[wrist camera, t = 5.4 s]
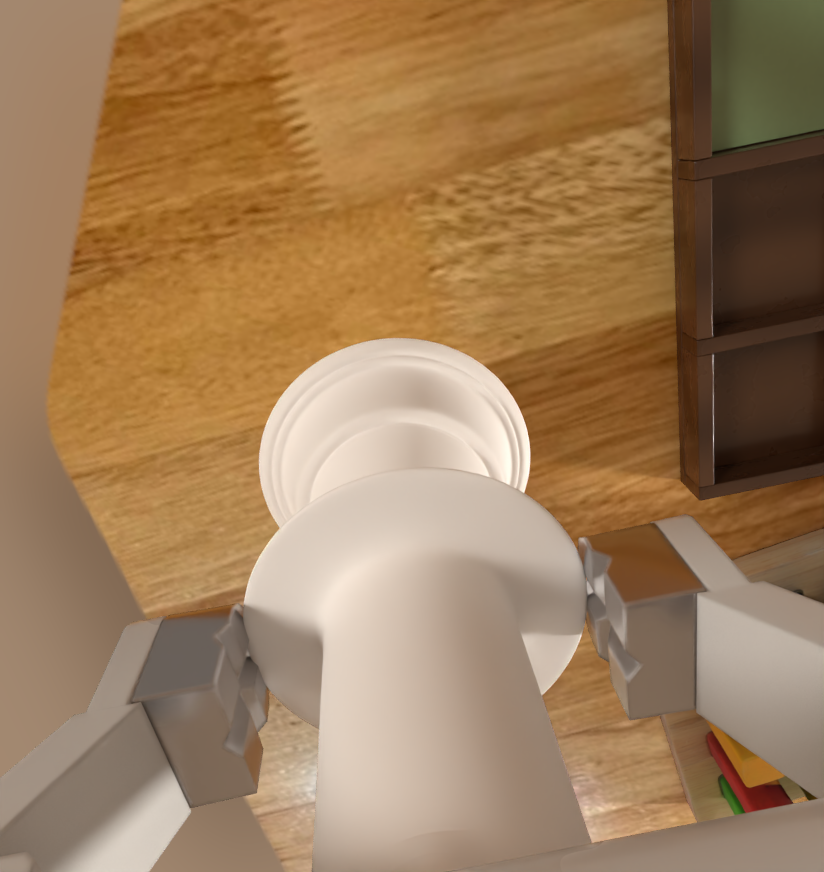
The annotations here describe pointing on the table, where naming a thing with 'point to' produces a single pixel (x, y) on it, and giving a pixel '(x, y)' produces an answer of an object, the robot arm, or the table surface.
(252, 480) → the table surface
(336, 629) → the white turned post
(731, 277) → the grid board
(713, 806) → the peg board
